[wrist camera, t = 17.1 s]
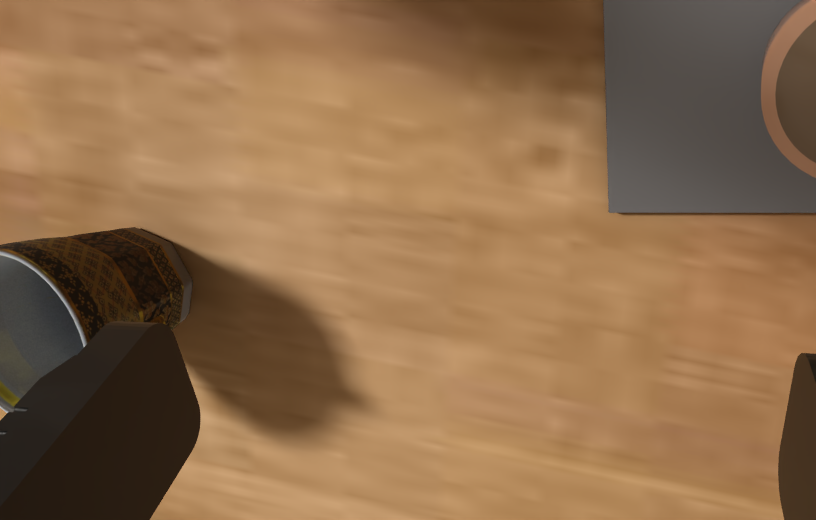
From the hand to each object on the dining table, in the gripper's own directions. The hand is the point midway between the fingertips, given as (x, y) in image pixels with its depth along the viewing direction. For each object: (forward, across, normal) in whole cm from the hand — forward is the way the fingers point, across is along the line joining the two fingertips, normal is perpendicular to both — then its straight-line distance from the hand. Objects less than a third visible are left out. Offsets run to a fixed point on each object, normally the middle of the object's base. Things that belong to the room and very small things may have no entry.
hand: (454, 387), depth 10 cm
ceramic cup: (+27, +24, +18) cm, 41 cm away
